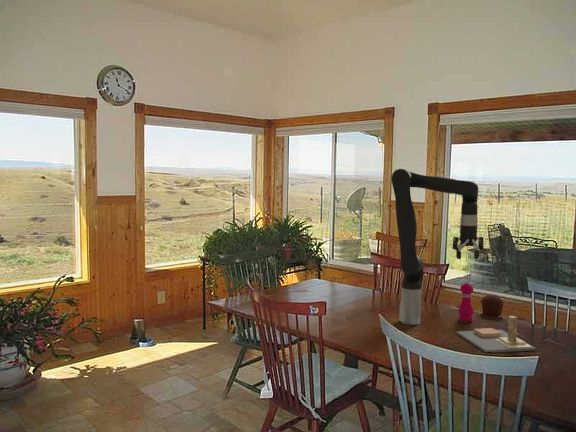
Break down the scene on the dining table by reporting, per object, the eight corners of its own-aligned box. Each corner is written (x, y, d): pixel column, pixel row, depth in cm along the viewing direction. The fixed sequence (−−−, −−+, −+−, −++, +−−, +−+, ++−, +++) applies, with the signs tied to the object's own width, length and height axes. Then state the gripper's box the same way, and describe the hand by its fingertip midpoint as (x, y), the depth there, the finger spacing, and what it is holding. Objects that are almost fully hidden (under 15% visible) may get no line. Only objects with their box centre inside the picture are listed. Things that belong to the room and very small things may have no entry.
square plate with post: (508, 345, 198) (509, 319, 197) (498, 339, 204) (499, 314, 204) (525, 344, 199) (526, 318, 198) (515, 338, 206) (516, 314, 205)
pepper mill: (459, 317, 242) (460, 278, 241) (474, 319, 238) (476, 280, 237) (456, 320, 236) (458, 281, 234) (471, 323, 232) (473, 282, 231)
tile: (501, 336, 209) (482, 337, 208) (492, 331, 216) (473, 332, 215) (501, 333, 209) (482, 333, 208) (492, 328, 216) (473, 328, 215)
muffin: (484, 309, 256) (484, 291, 255) (506, 313, 249) (506, 295, 248) (477, 314, 247) (477, 295, 246) (499, 318, 240) (500, 299, 239)
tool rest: (509, 348, 195) (509, 347, 195) (495, 340, 205) (495, 339, 205) (531, 347, 197) (531, 346, 197) (516, 339, 206) (516, 338, 206)
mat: (486, 352, 193) (486, 350, 192) (456, 333, 216) (456, 331, 216) (535, 350, 196) (535, 347, 196) (501, 331, 219) (501, 329, 219)
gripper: (458, 225, 216) (457, 260, 217) (487, 225, 218) (486, 260, 219) (450, 223, 223) (449, 257, 224) (478, 223, 225) (477, 257, 226)
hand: (467, 258), depth 222 cm, fingers open, 8 cm apart
